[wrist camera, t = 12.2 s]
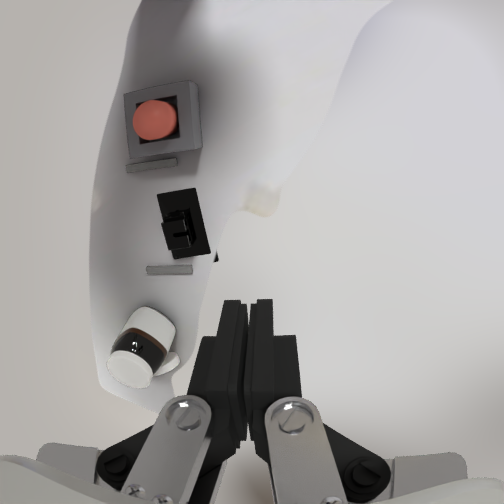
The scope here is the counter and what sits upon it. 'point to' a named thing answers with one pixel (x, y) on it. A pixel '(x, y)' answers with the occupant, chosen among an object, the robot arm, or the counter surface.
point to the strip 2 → (169, 269)
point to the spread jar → (143, 349)
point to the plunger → (156, 120)
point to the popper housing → (188, 113)
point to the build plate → (183, 224)
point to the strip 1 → (151, 165)
